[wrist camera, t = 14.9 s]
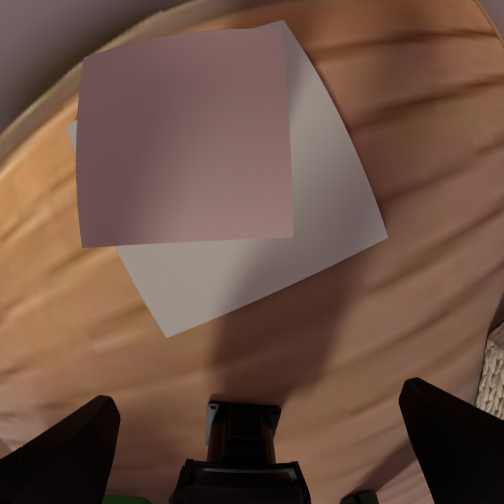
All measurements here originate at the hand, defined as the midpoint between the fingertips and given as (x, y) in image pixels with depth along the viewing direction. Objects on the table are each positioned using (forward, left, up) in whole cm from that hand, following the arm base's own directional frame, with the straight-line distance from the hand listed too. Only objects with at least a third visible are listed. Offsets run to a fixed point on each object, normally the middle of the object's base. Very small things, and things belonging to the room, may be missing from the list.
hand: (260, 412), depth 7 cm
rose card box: (+7, +3, -13) cm, 15 cm away
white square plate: (+7, +3, -13) cm, 15 cm away
